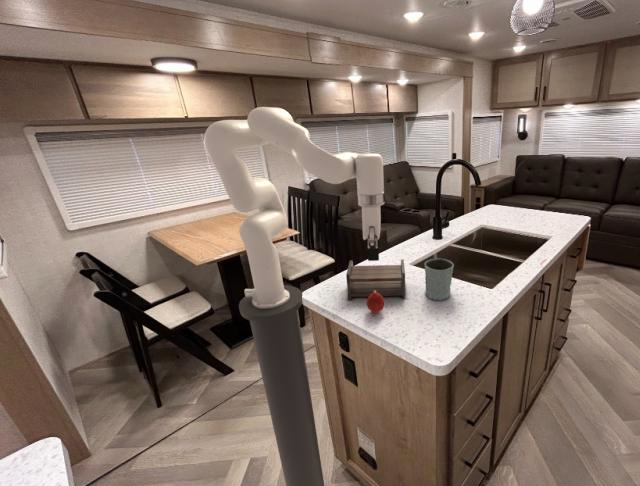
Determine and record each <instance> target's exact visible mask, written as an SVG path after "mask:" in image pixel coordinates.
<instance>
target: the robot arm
mask: <svg viewBox="0 0 640 486" xmlns="http://www.w3.org/2000/svg"><path fill="white" fill-rule="evenodd" d="M203 144H204V145H203V146H204V149H205V152H206V154H207V156H208V157H209V159H210V161H211V163H212V164H213V166H214V168H215V170H216V171H217V173H218V176H219V178H220V180H221V182H222V185H223V188H224V189H225V192H226V194H227V196H228V199H229V201H230V202H231V205H232V206H233V208H234V209H235V210H236V211H238V212H240V213H248V212H252V211H254V210H255V211H256V210H258V212H256V213H254V214H252V215H250V216H248V217H246V218H244V219H243V220H242V221H241V223H240V225H239V227H238V233H239V236H240V239H241V240H242V241H241V242H243V246H244V248H245V251H246V255H247V260H248V263H249V268H250V269H249V270H250V273H251V278H252V283H253V288H245V289H244V291H243V292H244V297H253V299H252V303H253V305H254V306H255V307H257V308H261V309H269V308H275V307H278V306H280V305H282V304H284V303H286V302H287V301H288V300H289V298H290V294H289V292H288V291H287V290H285V289H284V285H285V284H284V281H283V275H282V269H281V261H280V254H279V252H278V248H277V247H276V246H275V244H274V243H273V239H274V238H276V237H277V236H279V235H280V234H283V233H284V232H285V231H286V230H287V228H288V224H289V222H288V216H287V214H286V211H285V208H284V206H283V203H282V201H281V198H280V195H279V193H278V191H277V188H276V186H275V185H274V184H273V183H272V181H270V179H269V180H268V179H267V178H264V177H254V178H253V176H252V174H251V171H250V170H249V166H248V165H247V163H246V162H245V160H244V159H243V158H241V156H240V155H239V154H238V153H237V152H238V151H244V150H252V149H258V148H261V147H264V146H267V145H272V146H274V147H276V148H278V149H280V150H281V151H283V152H285V153H286V154H288V155H290V156H292V157H293V158H294V160H295V161H296V162H297V164H299V166H300V167H301V168H302V169H303V170H305V171H306V172H307V173H309V174H311V175H313V176H314V177H316V178H318V179H320V180H322V181H323V182H326V183H328V184H331V185H340V184H342V183H345V182H346V181H349V180H352V179H356V189H357V190H356V191H357V204H358V206H359V207H361V223H362V226H361V227H362V240H363V241H366V240H367V247H366V249H367V261H368V262H375V261H377V262H378V261H380V254H379V253H380V251H379V249H380V236H381V228H382V227H381V224H382V223H381V221H382V219H381V218H382V217H381V216H382V215H381V206H383V205H385V181H384V180H385V179H384V177H385V176H384V159H383V156H382V155H381V154H379V153H373V152H372V153H371V152H370V153H356V152H351V151H343V152H340V153H334V154H333V153H330V152H329V151H327V150H325V149H323V148H321V147H319V146H318V145H316V144H315V143H314V142H313V141H311V134H310V131H309V130H308V129H307V128H306V127H304V126H302V125H301V124H298V123H297V122H295V121H294V117H292V115H291V114H290V113H289V112H288V111H287V110H285V109H284V108H281V107H271V106H258V107H256V108H253V109H252V110H251V111H250V112H249V113H248V115H247V119H223V120H218V121H215V122H213V123H211V124H210V125H209V126H208V127H207V129H206V130H205V132H204V138H203Z"/></svg>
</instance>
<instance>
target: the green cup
mask: <svg viewBox="0 0 640 486" xmlns="http://www.w3.org/2000/svg"><path fill="white" fill-rule="evenodd" d="M454 267H455V264H454V263H453V262H452V261H451V260H449V259H446V258H431V259H428V260H426V261H425V262H424V272H425V273H424V274H425V276H424V280H425V295H426V297H428V298H429V299H431V300H434V301H444V300H447V299H448V298H449V297H450V295H451V286H452V281H453V279H452V278H453V273H454Z"/></svg>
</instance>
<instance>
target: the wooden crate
mask: <svg viewBox="0 0 640 486" xmlns="http://www.w3.org/2000/svg"><path fill="white" fill-rule="evenodd" d="M345 277H346V289H347V291H346V292H347V300H348V301H351V300H352V298H357V297H369V296H370V295H371V294H372V293H373V292H374V290H375V291H376V292H377V293H379V294H381V295H382V297H392V296H393V297H395V296H396V297H397V296H401V299H403V300H404V299H406V269H405V259H400V264H390V265H389V264H387V265H385V264H384V265H382V264H381V265H379V264H378V265H377V264H376V265H354V261H353V260H349V262H348V265H347V271H346V274H345Z"/></svg>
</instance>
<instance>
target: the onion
mask: <svg viewBox="0 0 640 486" xmlns="http://www.w3.org/2000/svg"><path fill="white" fill-rule="evenodd" d="M385 304H386V303H385V298H384V296H382V295H381V294H379V293H377V292H376V291H375V290H374V292H373V293H372V294H371V295H370V296H367V299H366V307H367V308H368V310H369V311H370V312H372V313H375V314H376V313H379V312H381V311H382V310H383V309H384V307H385Z"/></svg>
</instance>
